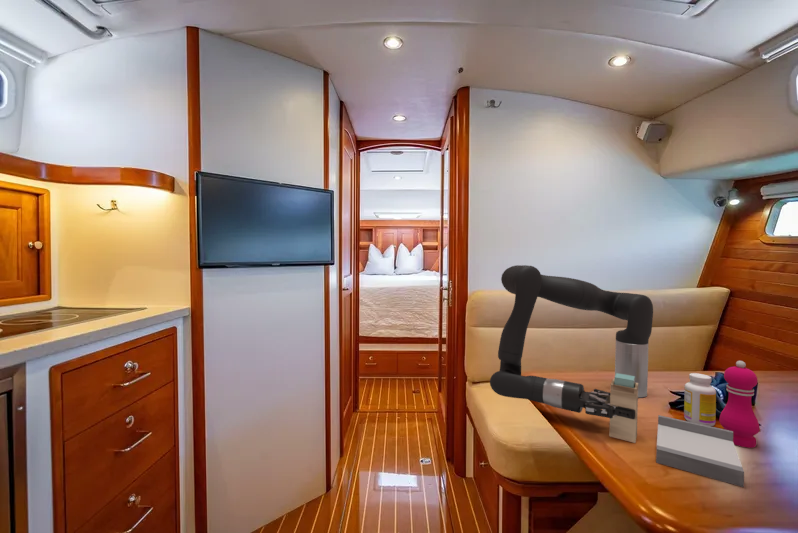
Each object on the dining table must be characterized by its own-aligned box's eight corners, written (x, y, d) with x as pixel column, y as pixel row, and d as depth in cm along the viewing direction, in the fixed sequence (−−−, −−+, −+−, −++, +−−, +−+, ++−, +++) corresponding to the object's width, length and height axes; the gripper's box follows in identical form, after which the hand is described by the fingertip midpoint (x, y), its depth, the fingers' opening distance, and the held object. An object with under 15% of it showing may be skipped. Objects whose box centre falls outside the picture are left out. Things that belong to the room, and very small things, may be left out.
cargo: (616, 384, 94) (616, 373, 94) (634, 387, 92) (634, 376, 92) (614, 388, 91) (614, 377, 91) (633, 392, 88) (633, 380, 88)
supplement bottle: (719, 424, 98) (720, 377, 98) (709, 429, 95) (710, 381, 95) (689, 414, 104) (691, 370, 104) (679, 419, 101) (680, 374, 100)
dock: (657, 434, 92) (658, 415, 92) (732, 452, 84) (732, 431, 84) (656, 462, 79) (656, 440, 79) (743, 487, 71) (744, 462, 71)
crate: (612, 428, 95) (613, 378, 95) (636, 434, 92) (638, 383, 92) (609, 436, 91) (610, 384, 91) (635, 443, 88) (636, 389, 87)
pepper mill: (767, 450, 85) (770, 366, 84) (731, 447, 86) (734, 364, 86) (744, 435, 92) (747, 357, 91) (711, 432, 93) (714, 356, 93)
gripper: (557, 388, 94) (634, 404, 84) (569, 374, 106) (638, 387, 95) (556, 417, 94) (633, 436, 84) (568, 400, 106) (637, 415, 96)
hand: (635, 410), depth 90 cm, fingers closed on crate, 5 cm apart
